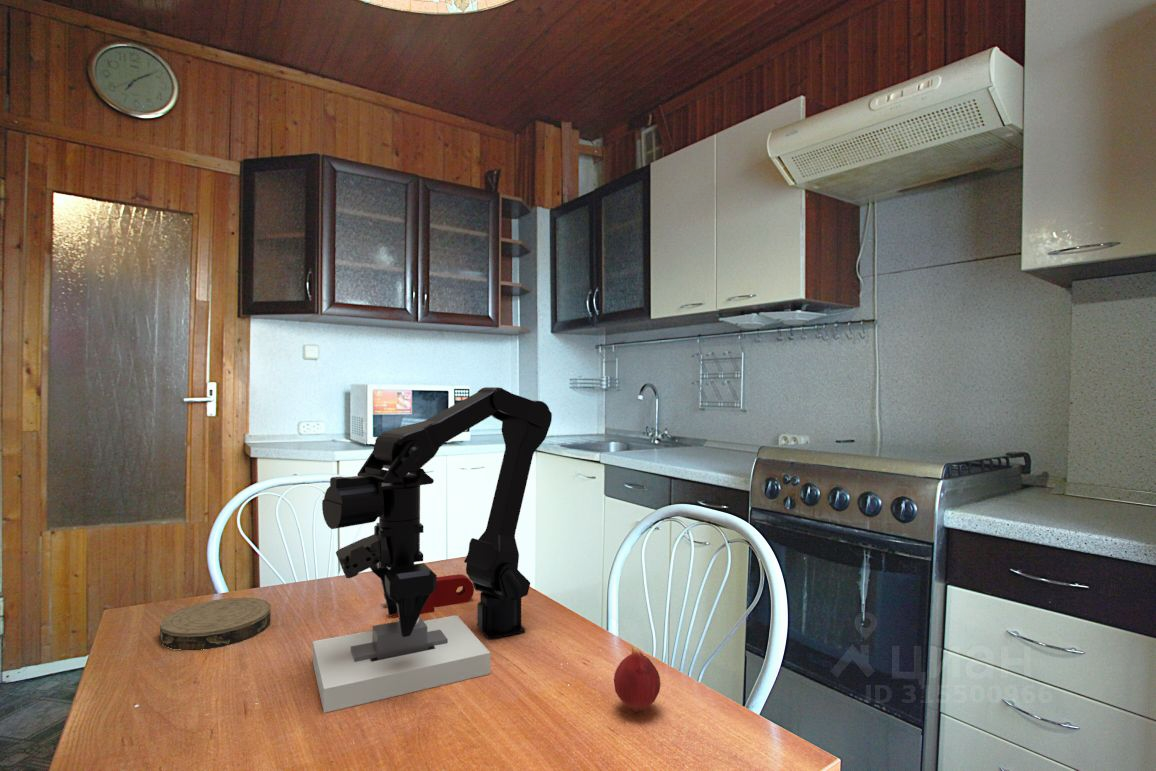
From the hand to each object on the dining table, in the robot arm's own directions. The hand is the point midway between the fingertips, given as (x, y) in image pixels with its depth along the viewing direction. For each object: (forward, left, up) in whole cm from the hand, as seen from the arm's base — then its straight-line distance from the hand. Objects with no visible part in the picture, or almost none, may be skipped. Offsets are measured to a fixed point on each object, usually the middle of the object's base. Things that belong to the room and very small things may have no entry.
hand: (399, 624), depth 88 cm
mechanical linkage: (-11, -23, -7) cm, 26 cm away
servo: (0, 0, -6) cm, 6 cm away
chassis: (0, 0, -6) cm, 6 cm away
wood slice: (+24, -28, -7) cm, 37 cm away
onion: (-24, +26, -6) cm, 36 cm away
